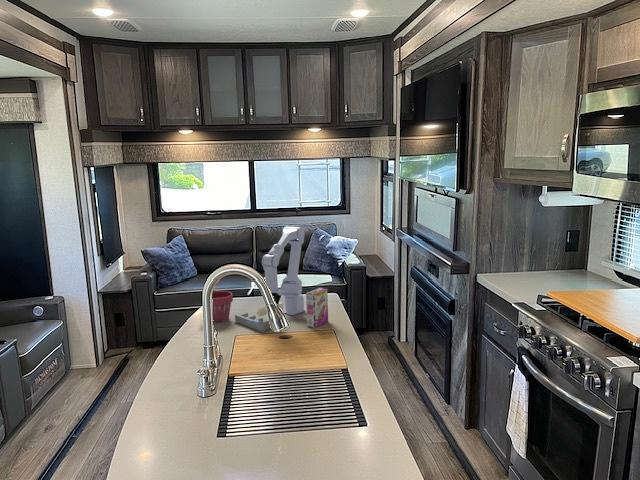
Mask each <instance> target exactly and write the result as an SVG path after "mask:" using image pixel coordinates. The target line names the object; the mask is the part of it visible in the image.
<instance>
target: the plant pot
mask: <svg viewBox="0 0 640 480" xmlns="http://www.w3.org/2000/svg"><path fill="white" fill-rule="evenodd" d="M212 292H213V297H212V299H213V320H214V322H215V323H219V322H220V323H221V322H225V321H227V320H229V317H230V312H231V306H232V305H231V304H232V303H233V300H234V297H233V293H232V291H227V290H216V291H212Z"/></svg>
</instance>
